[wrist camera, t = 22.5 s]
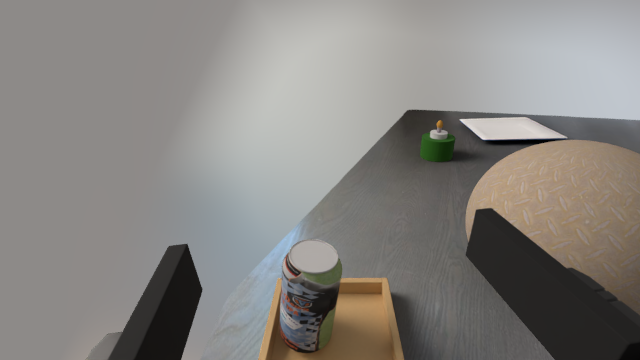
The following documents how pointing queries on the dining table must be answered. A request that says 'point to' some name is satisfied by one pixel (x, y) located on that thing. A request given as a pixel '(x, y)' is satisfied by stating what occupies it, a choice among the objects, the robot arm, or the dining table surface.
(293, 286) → the beverage can
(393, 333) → the wooden serving tray
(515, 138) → the plate
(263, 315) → the dining table surface
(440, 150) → the candle
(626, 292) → the decorative sphere
